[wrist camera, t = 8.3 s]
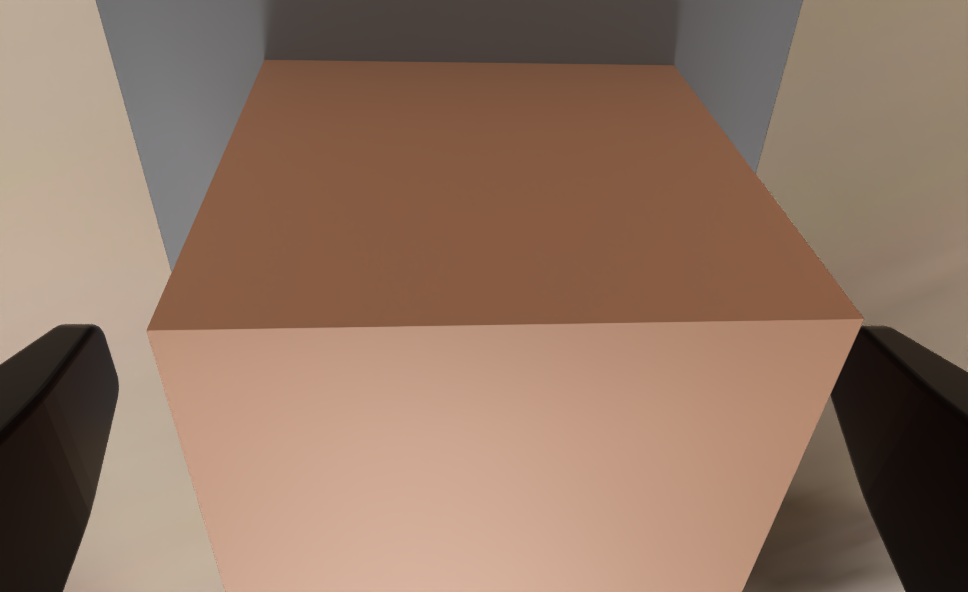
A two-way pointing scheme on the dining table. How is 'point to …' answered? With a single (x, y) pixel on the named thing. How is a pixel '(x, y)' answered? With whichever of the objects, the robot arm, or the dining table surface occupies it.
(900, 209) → the dining table surface
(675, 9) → the slate grey panel
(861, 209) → the dining table surface
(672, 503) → the terracotta block
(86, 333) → the robot arm
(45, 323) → the dining table surface
